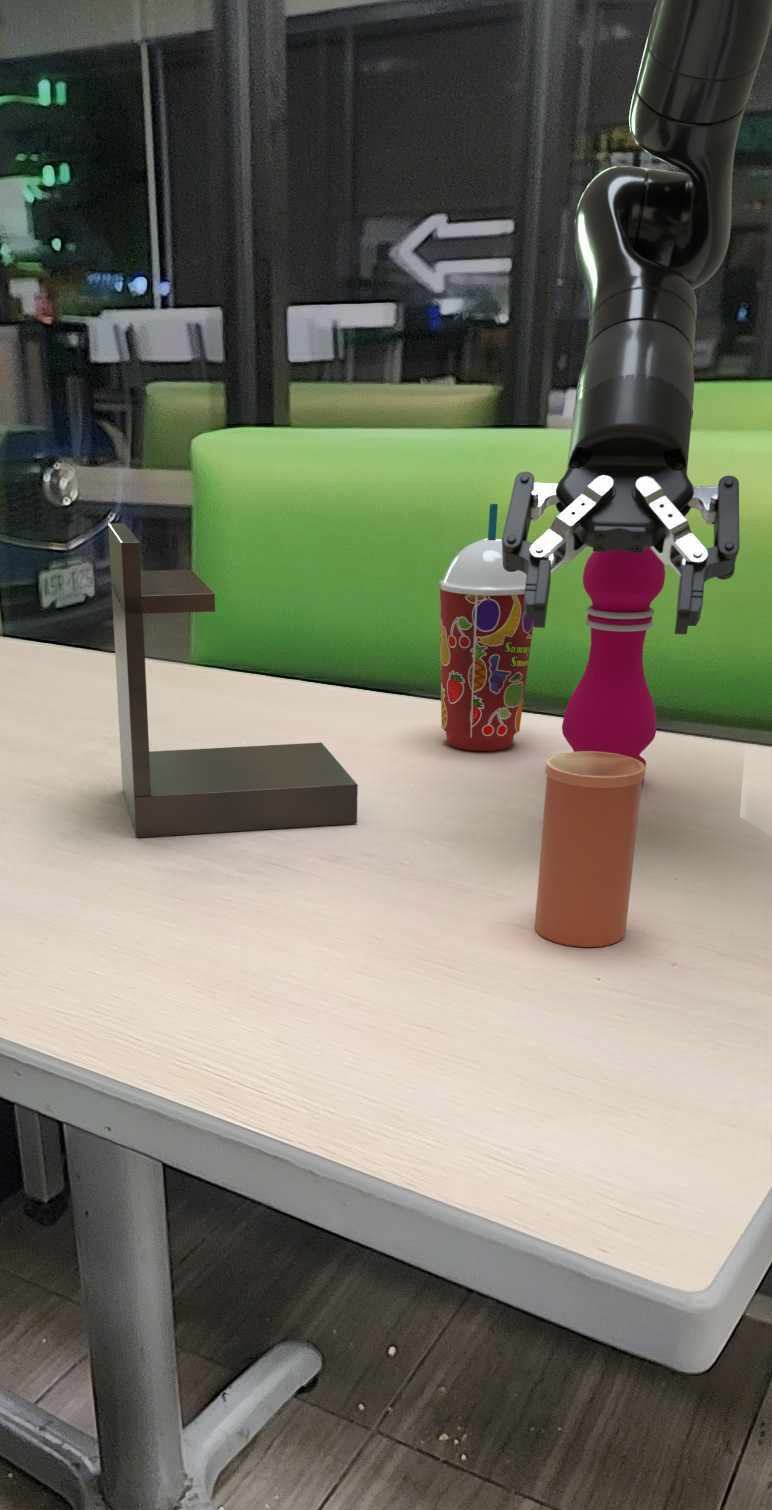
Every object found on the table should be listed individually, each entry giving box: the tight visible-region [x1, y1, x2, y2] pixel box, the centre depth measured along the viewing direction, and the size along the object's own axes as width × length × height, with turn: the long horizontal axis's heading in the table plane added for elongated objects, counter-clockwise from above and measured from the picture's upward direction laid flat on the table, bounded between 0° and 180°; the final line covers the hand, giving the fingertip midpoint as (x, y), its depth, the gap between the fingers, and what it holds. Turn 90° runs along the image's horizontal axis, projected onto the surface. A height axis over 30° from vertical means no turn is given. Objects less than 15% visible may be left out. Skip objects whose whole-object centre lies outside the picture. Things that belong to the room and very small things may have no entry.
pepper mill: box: [561, 547, 666, 785], centre depth 102 cm, size 7×7×20 cm
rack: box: [107, 522, 359, 839], centre depth 96 cm, size 16×12×20 cm
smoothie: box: [438, 503, 534, 752], centre depth 113 cm, size 8×8×20 cm
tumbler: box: [534, 751, 646, 948], centre depth 76 cm, size 5×5×10 cm
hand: (610, 623), depth 81 cm, fingers open, 8 cm apart
